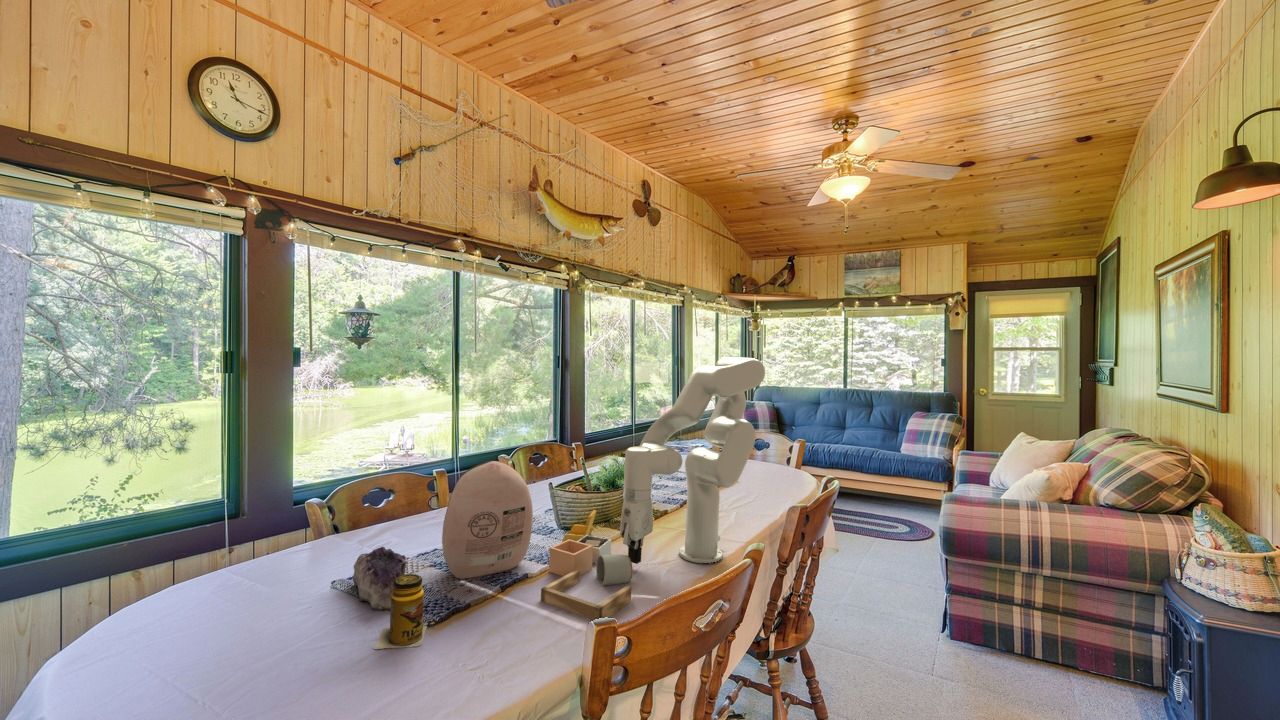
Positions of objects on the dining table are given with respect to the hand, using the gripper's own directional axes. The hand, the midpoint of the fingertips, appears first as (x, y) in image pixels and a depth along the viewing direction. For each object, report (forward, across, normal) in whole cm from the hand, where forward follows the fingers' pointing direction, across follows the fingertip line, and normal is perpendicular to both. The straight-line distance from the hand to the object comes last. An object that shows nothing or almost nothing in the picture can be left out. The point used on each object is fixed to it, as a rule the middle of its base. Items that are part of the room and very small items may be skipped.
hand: (634, 561), depth 143 cm
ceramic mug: (+3, -8, +2) cm, 9 cm away
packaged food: (+3, -24, +30) cm, 38 cm away
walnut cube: (+2, 0, +14) cm, 14 cm away
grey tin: (+3, 0, +14) cm, 14 cm away
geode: (+3, -45, +42) cm, 61 cm away
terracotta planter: (+3, -11, +13) cm, 17 cm away
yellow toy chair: (+3, +9, +26) cm, 28 cm away
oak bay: (+3, -21, 0) cm, 21 cm away
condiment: (+3, -55, +21) cm, 59 cm away
